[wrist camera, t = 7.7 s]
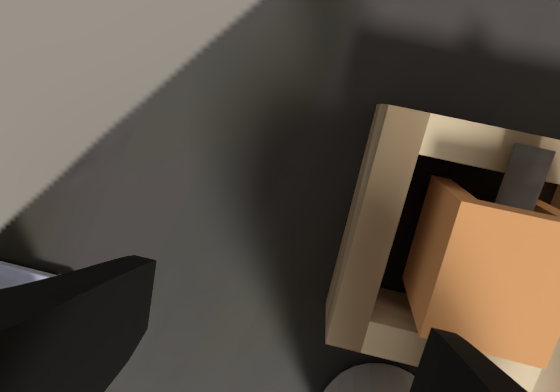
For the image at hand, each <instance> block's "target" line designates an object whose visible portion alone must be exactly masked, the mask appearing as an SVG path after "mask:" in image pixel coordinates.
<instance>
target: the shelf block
mask: <svg viewBox="0 0 560 392" xmlns="http://www.w3.org/2000/svg"><path fill="white" fill-rule="evenodd" d="M418 155H424V156H429V157H433V158H438V159H443V160H447V161H452V162H457V163H461V164H466V165H471V166H475V167H480V168H485V169H489V170H494V171H499V172H503V173H505V175H504V177H503V180H502V183H501V186H500V189H499V192H498V194H497V197H496V200H495V203H496V204H501V205H506V206H510V207H515V208H520V209H525V210H529V211H534V208H535V206H536V203H537V200H538V198H539V195H540V193H541V190H542V187H543V185H544V182H550V183H555V184H558V186H557V188H556V191H555V193H554V196H553V198H552V201H551V204H550V205H551V206H553V207H555V208H557V209H559V210H560V140H558V139H553V138H548V137H544V136H539V135H534V134H529V133H524V132H519V131H515V130H510V129H505V128H500V127H495V126H491V125H486V124H481V123H476V122H471V121H466V120H462V119H457V118H452V117H447V116H442V115H437V114H433V113H428V112H423V111H418V110H413V109H409V108H404V107H399V106H394V105H389V104H377V106H376V110H375V114H374V118H373V121H372V125H371V129H370V133H369V137H368V141H367V145H366V149H365V152H364V156H363V160H362V164H361V168H360V172H359V176H358V180H357V184H356V187H355V191H354V195H353V199H352V203H351V207H350V211H349V215H348V218H347V222H346V226H345V230H344V234H343V238H342V242H341V246H340V249H339V253H338V257H337V261H336V265H335V269H334V273H333V277H332V281H331V284H330V288H329V292H328V296H327V300H326V323H325V344H328V345H332V346H336V347H340V348H344V349H348V350H352V351H356V352H360V353H364V354H368V355H372V356H376V357H380V358H384V359H388V360H392V361H396V362H400V363H404V364H408V365H412V366H416V367H418V365H419V362H420V359H421V356H422V353H423V350H424V347H425V344H426V341H427V339H425V338H422V337H419V334H418V331H417V328H416V324H415V321H414V317H413V314H412V310H411V307H410V303H409V300H408V296H407V294H405V293H401V292H397V291H392V290H388V289H384V288H380V284H381V281H382V278H383V274H384V271H385V267H386V264H387V261H388V257H389V254H390V250H391V247H392V244H393V240H394V237H395V233H396V230H397V226H398V223H399V220H400V216H401V213H402V209H403V206H404V203H405V199H406V196H407V192H408V189H409V186H410V182H411V179H412V175H413V172H414V168H415V165H416V162H417V158H418ZM484 355H485V356H486V357H487V358H488V359H490V360H491V361H492V362H493V363H494V364H496V365H497V366H498V367H499V368H500V369H501V370H503V371H504V372H505V373H506V374H507V375H509V376H510V377H511V378H512V379H513V380H514V381H516V382H517V383H518V384H519V385H520V386H522V387H523V388H524V389H525V390H526V391H528V392H560V336H559V339H558V341H557V344H556V346H555V349H554V351H553V353H552V356H551V358H550V361H549V363H548V365H547V368H546V370H545V369H541V368H537V367H533V366H529V365H525V364H522V363H518V362H514V361H510V360H506V359H502V358H499V357H495V356H491V355H487V354H484Z"/></svg>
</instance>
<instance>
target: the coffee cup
mask: <svg viewBox="0 0 560 392" xmlns="http://www.w3.org/2000/svg"><path fill="white" fill-rule="evenodd" d="M414 377H415V376H413V375H412V374H411V373H409V372H407V371H405V370H403V369H401V368H399V367H397V366H393V365H388V364H384V363H366V364H362V365H358V366H354V367H352V368H350V369H348V370H346V371H343V372H341V373H340V374H339V375H338V376H337V377H336V378H335V379H334V380H332V382H331V383H330V384H329V385H328V386H327V387H326V389H325V391H324V392H409V391H410V388H411V385H412V383H413V380H414Z"/></svg>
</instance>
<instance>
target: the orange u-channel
mask: <svg viewBox="0 0 560 392" xmlns="http://www.w3.org/2000/svg"><path fill="white" fill-rule="evenodd" d="M402 279H403V282H404V286H405V289H406V293H407V296H408V300H409V303H410V307H411V310H412V314H413V317H414V321H415V324H416V328H417V331H418V334H419V337H422V338H425V339H427V338H428V336H429V333H430V330H431V327H432V328H436V329H441V330H445V331H449V332H453V333H456V334H458V335H459V336H461V337H462V338H464V339H465V340H466V341H468V342H469V343H470V344H472V345H473V346H474V347H475V348H477V349H478V350H479V351H480V352H481V353H483V354H487V355H491V356H495V357H499V358H502V359H506V360H510V361H514V362H518V363H522V364H525V365H529V366H533V367H537V368H541V369H545V370H546V368H547V365H548V363H549V361H550V358H551V356H552V353H553V351H554V349H555V346H556V344H557V341H558V339H559V336H560V210H559V209H557V208H555V207H553V206H551V205H549V204H547V203H545V202H543V201H541V200H539V199H538V200H537V203H536V206H535V208H534V211H529V210H525V209H520V208H515V207H510V206H506V205H501V204H496V203H492V202H487V201H482V200H478V199H476V198H475V197H474V196H472V195H471V194H470V193H468V192H467V191H466V190H464V189H463V188H462V187H460V186H459V185H458V184H456V183H455V182H454V181H452V180H451V179H449V178H444V177H439V176H434V175H431V179H430V182H429V186H428V189H427V192H426V196H425V199H424V203H423V206H422V210H421V213H420V217H419V220H418V224H417V227H416V231H415V234H414V238H413V241H412V245H411V248H410V252H409V255H408V259H407V262H406V266H405V269H404V273H403V276H402Z"/></svg>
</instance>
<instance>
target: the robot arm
mask: <svg viewBox="0 0 560 392" xmlns="http://www.w3.org/2000/svg"><path fill="white" fill-rule="evenodd" d="M155 268H156V260H152V259H148V258H144V257H140V256H136V255H133V256H127V257H122V258H118V259H114V260H111V261H107V262H103V263H100V264H97V265H93V266H90V267H86V268H83V269H79V270H76V271H72V272H69V273H65V274H61V275H55V274H51V273H47V272H43V271H39V270H35V269H31V268H27V267H23V266H18V265H14V264H10V263H6V262H2V261H0V392H104V391H105V390H106V389H107V387H108V386H109V385H110V384H111V382H112V381H113V380H114V378H115V377H116V376H117V375H118V373H119V372H120V371H121V370H122V368H123V367H124V366H125V364H126V363H127V362H128V360H129V359H130V357H131V355H132V354H133V352H134V351H135V349H136V347H137V346H138V344H139V342H140V340H141V339H142V337H143V335H144V334H145V332H146V330H147V327H148V320H149V312H150V305H151V297H152V290H153V282H154V275H155ZM409 392H528V391H526V390H525V389H524V388H523V387H522V386H520V385H519V384H518V383H517V382H516V381H514V380H513V379H512V378H511V377H510V376H509V375H507V374H506V373H505V372H504V371H503V370H501V369H500V368H499V367H498V366H497V365H496V364H494V363H493V362H492V361H491V360H490V359H488V358H487V357H486V356H485V355H484V354H483V353H481V352H480V351H479V350H478V349H477V348H475V347H474V346H473V345H472V344H470V343H469V342H468V341H466V340H465V339H464V338H462V337H461V336H459V335H458V334H456V333H453V332H449V331H445V330H441V329H436V328H432V327H431V330H430V333H429V336H428V338H427V341H426V344H425V347H424V350H423V353H422V356H421V359H420V362H419V365H418V368H417V371H416V374H415V377H414V380H413V383H412V385H411V388H410V391H409Z"/></svg>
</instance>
